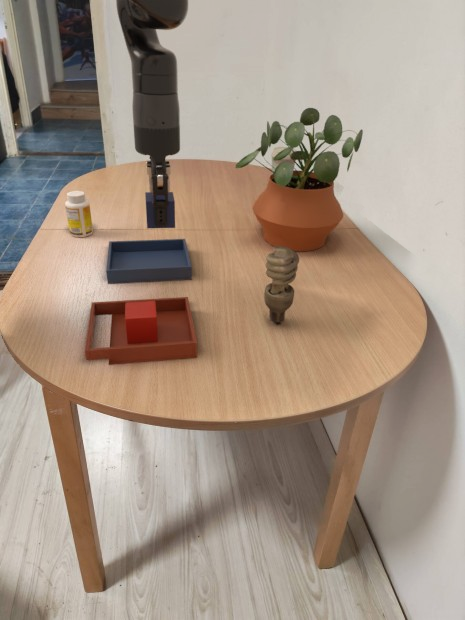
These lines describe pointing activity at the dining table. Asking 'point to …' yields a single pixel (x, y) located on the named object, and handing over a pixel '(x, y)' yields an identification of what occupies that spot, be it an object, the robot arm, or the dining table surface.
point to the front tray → (171, 342)
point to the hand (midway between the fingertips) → (160, 219)
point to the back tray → (148, 261)
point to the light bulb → (280, 282)
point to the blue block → (151, 210)
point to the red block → (141, 322)
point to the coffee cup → (286, 159)
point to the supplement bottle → (78, 214)
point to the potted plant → (301, 184)
